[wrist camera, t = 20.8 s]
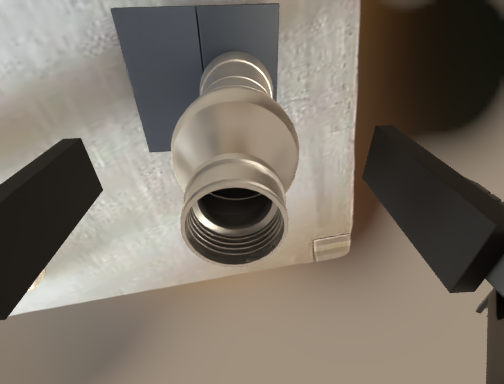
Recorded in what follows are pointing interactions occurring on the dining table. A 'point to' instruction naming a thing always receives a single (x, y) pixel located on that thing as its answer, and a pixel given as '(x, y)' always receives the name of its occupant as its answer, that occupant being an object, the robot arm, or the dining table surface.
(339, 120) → the dining table surface
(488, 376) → the robot arm
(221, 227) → the plastic bottle
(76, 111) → the dining table surface
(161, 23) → the flap
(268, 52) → the carton
